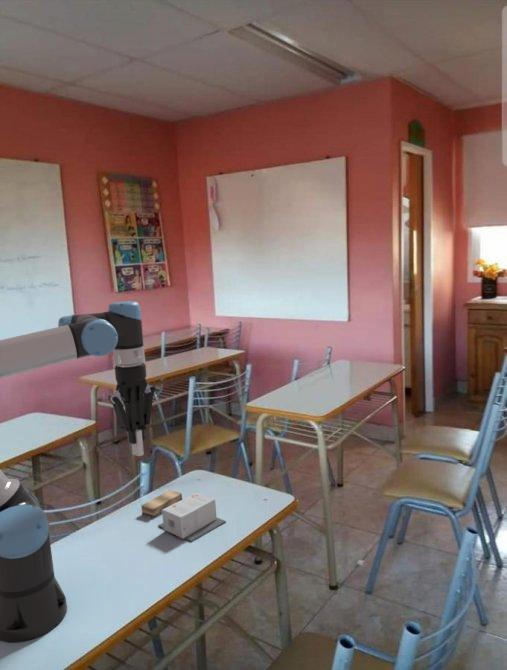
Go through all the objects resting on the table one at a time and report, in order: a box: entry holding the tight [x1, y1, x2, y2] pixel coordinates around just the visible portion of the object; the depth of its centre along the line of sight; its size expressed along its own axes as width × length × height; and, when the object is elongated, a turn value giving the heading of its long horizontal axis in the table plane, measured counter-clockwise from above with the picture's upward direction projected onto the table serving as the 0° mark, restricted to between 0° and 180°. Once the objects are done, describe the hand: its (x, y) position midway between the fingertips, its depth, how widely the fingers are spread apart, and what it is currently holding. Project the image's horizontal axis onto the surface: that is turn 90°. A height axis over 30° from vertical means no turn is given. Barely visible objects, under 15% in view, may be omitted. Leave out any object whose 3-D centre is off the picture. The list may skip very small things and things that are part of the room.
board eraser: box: [141, 489, 183, 519], centre depth 167 cm, size 12×5×3 cm, turn 144°
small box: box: [161, 492, 218, 540], centre depth 154 cm, size 8×6×13 cm
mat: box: [157, 517, 227, 543], centre depth 156 cm, size 13×14×1 cm
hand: (138, 454), depth 141 cm, fingers closed
